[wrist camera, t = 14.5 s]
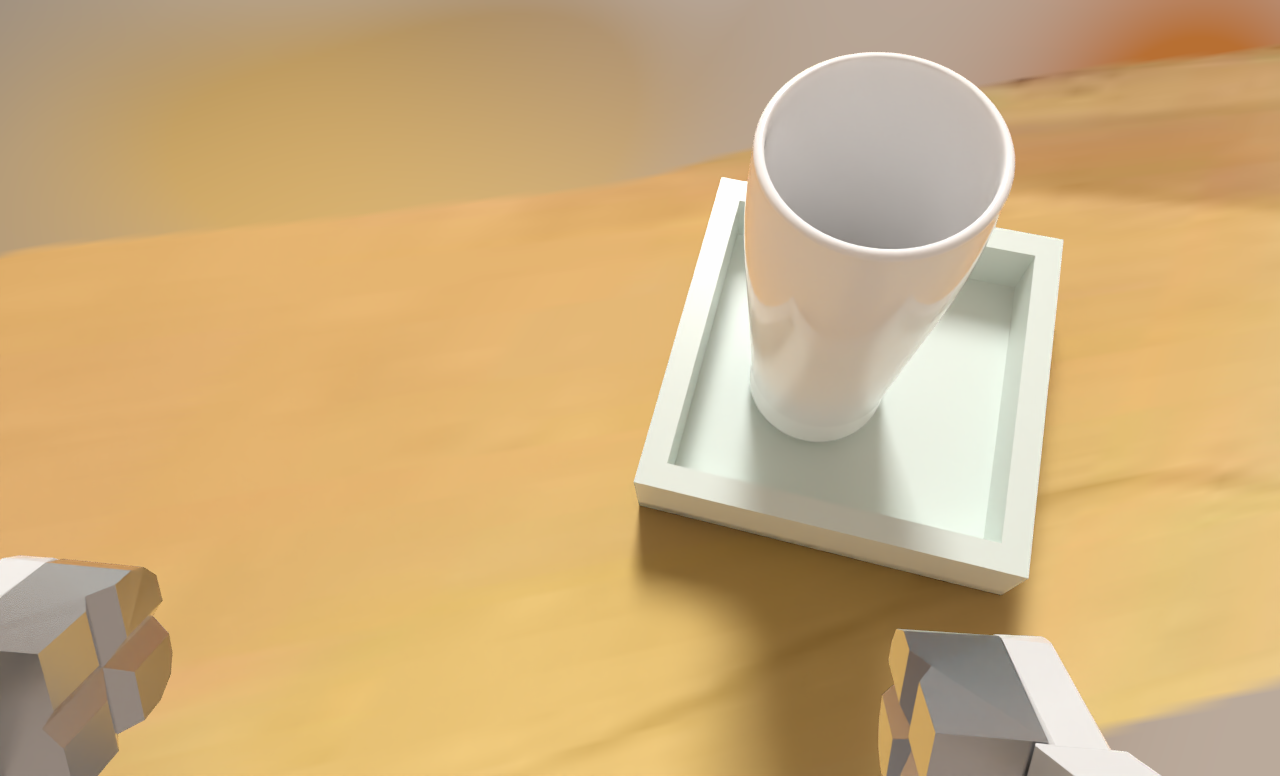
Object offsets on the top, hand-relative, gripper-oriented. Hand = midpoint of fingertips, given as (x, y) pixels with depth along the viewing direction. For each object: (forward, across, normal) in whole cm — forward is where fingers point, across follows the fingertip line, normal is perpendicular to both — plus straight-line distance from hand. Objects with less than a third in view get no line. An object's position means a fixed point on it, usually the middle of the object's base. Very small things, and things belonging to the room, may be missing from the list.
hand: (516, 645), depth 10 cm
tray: (+27, -8, +7) cm, 29 cm away
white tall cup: (+26, -7, +7) cm, 28 cm away
